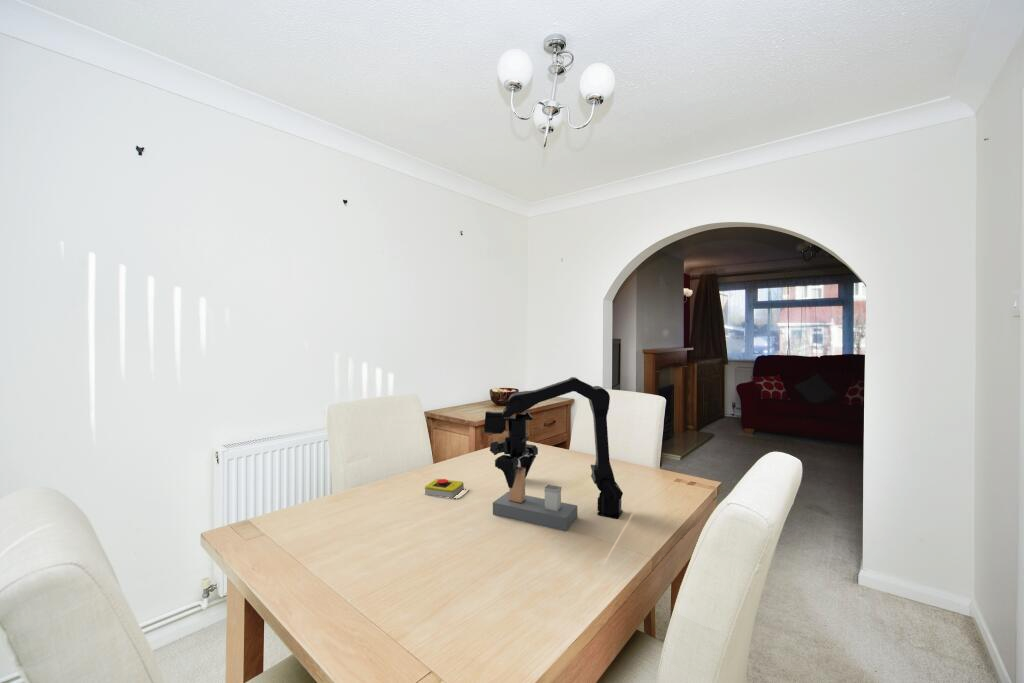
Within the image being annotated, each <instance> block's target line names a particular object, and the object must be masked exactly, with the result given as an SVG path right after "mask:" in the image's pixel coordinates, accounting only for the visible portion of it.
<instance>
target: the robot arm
mask: <svg viewBox="0 0 1024 683" xmlns="http://www.w3.org/2000/svg"><path fill="white" fill-rule="evenodd" d="M572 392H575V393H577V394H579V395H581V396H583V397H584V398H586V399H588V404H589V407H590V409H591V412H592V418H593V428H594V429H593V431H594V432H593V433H594V444H595V445H594V447H595V462H594V464H590V469H591V475H590V477H591V480H592V481H593V483H594V485H595V486H596V488H597V489H598V490H599V491H600V493H599V495H598V497H597V511H598V512H597V516H600V517H605V518H611V519H615V520H618V519H620V517H621V515H622V513H624V510H623V509H622V497H623V494H624V493H623V491H622V489H621V488H620V486H619V484H618V483H617V481H616V480H615V479H616V478H615V475H614V471H613V469H612V465H611V462H610V450H609V448H610V447H609V434H608V432H609V431H608V421H607V420H608V419H607V417H608V413H609V409H610V402H611V397H610V393H609V392H608V391H607V390H606V389H605V388H603V387H602V386H599V385H591V384H589V383H588V382H587V383H586V382H585V381H582V380H581V379H578V378H577V377H575V376H574V377H573V376H570V377H569V378H568V379H565V380H560V381H558V382H556V383H553V384H550V385H547V386H546V385H545V386H543V387H541V388H537V389H535V390H533V389H532V390H524V391H516V392H513V393H512V394H510V395H509V398H508V401H507V405H506V406H505V407H504V408H503V410H502V411H490V410H487V411H485V412H484V414H485V415H484V416H485V417H484V424H483V429H484V430H483V432H484V434H486V435H487V434H490V435H491V434H494V435H496V434H497V435H498V434H499V435H502V434H503V432H504V431H508V432H507V433H508V435H507V436H506V437H505V438H504V440H501V441H497V440H496V441H493V442H490V445H489V451H490V453H492V454H493V456H497V455H498V454H502V453H503V454H502V455H500V456H498V457H497V458H495V459H494V467H495V468H497V469H498V470H500V471H502V472H503V474H504V479H505V478H506V481H507V482H506V481H505V482H506V484H507V486H508V488H512V487H513V484H514V481H515V478H516V474H517V471H518V468H519V467H517V466H518V459H519V460H520V465H521V467H523V468H526V471H525V479H526V478H527V476H528V474H529V472H530V469H531V467H532V465H533V464H534V461H535V459H536V457H537V455H539V448H538V447H537V445H535V444H529V443H527V441H529V440H530V436H529V435H527V422H528V421H533V416H532V415H531V414H530V413H529V411H528V410H529V409H531V408H533V407H534V406H535V405H538V404H539V403H543V402H545V401H548V400H551V399H554V398H558V397H560V396H563V395H566V394H567V395H568V394H569V393H572ZM507 423H508V424H507ZM507 426H508V427H507ZM507 428H508V430H507ZM504 454H510V456H508V455H504Z"/></svg>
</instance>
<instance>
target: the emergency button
mask: <svg viewBox="0 0 1024 683" xmlns="http://www.w3.org/2000/svg"><path fill="white" fill-rule="evenodd" d="M464 489H465V488H464V481H459V480H458V481H457V480H451V479H450V480H449V479H446V478H435V479H433V480H432V481H430V482H429V483H428V484H426V485H425V486H424V490H425V494H428V495H427V496H430V495H435V496H434V497H437V496H442V497H441V498H444V497H449V498H448V499H451V498H454V497H455V496H456V495H458V494H459V493H460V492H461V491H462V490H464Z"/></svg>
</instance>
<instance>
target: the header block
mask: <svg viewBox="0 0 1024 683" xmlns="http://www.w3.org/2000/svg"><path fill="white" fill-rule="evenodd" d="M492 516H496V517H501V518H506V519H509V520H514V521H518V522H522V523H528V524H530V525H531V524H532V525H537V526H541V527H545V528H548V529H549V528H550V529H552V530H553V529H554V530H557V531H561V530H562V531H563V532H567V531H568V530H569V529H570V527H571V526H572V525H573V524H574V523H575V522H576V521H577V519H578V504H572V503H567V502H562V501H561V509H560V510H559V511H553V510H549V509H545V498H543V497H542V498H541V497H537V496H532V495H527V494H525V500H524V501H523V502H521V503H519V502H514V501H509V491H507V492H506V493H504V494H502V495H501V496H500V497H498V498H497V499H496V500H493V502H492Z"/></svg>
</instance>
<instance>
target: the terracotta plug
mask: <svg viewBox="0 0 1024 683" xmlns="http://www.w3.org/2000/svg"><path fill="white" fill-rule="evenodd" d="M525 471H526V468H523V467H519V468H518V471H517V474H516V478H515V481H514V484H513V487H512V488H509V487H508V488H509V489H508V490H509V491H508V492H509V501H514V502H519V503H521V502H523V501H524V500H525V495H526V478H525Z"/></svg>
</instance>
